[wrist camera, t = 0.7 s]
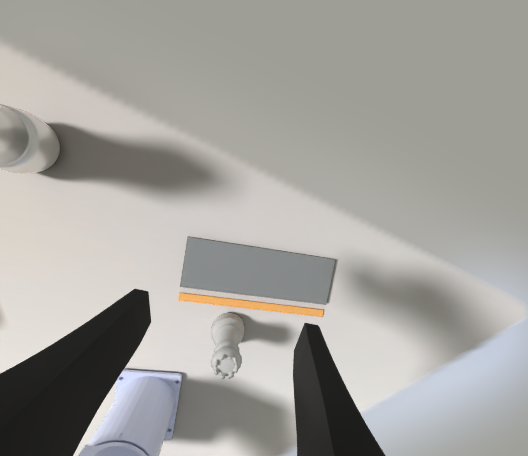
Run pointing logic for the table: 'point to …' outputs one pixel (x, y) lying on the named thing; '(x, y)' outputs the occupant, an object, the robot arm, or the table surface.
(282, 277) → the mat
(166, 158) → the table surface
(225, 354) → the rook chess piece
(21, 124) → the plastic bottle
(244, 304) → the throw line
